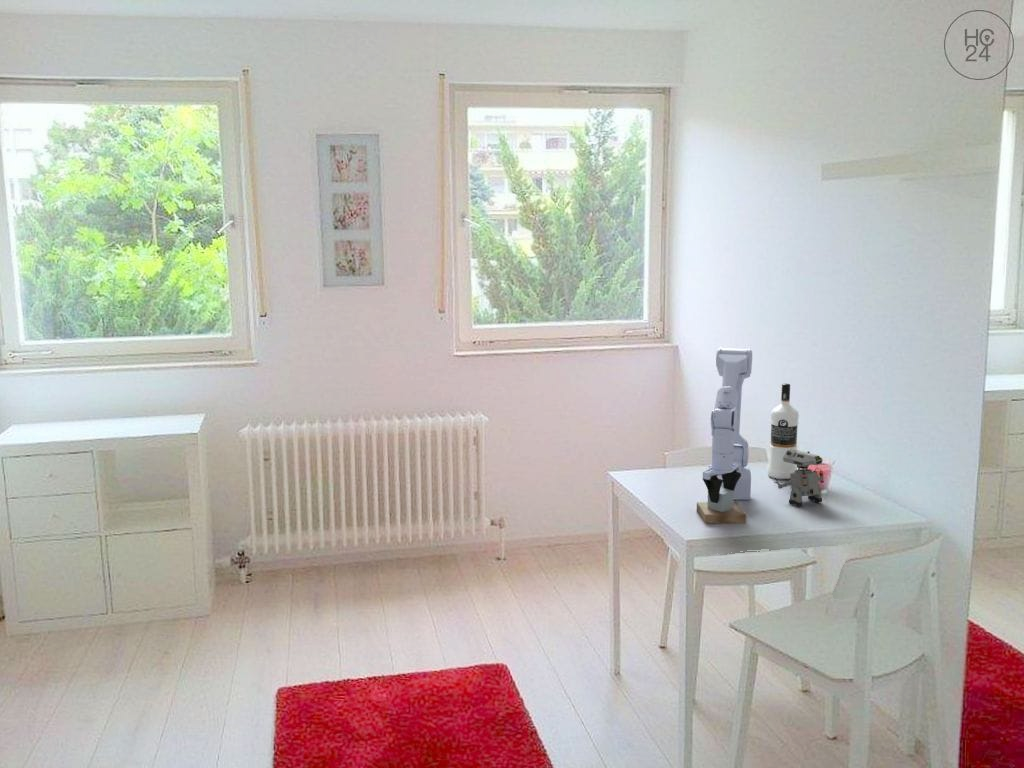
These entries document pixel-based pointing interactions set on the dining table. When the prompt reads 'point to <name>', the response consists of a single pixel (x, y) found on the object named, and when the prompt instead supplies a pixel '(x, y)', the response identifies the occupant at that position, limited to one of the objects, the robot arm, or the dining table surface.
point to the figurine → (803, 477)
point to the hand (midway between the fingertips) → (721, 499)
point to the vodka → (783, 436)
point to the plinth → (721, 514)
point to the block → (723, 501)
